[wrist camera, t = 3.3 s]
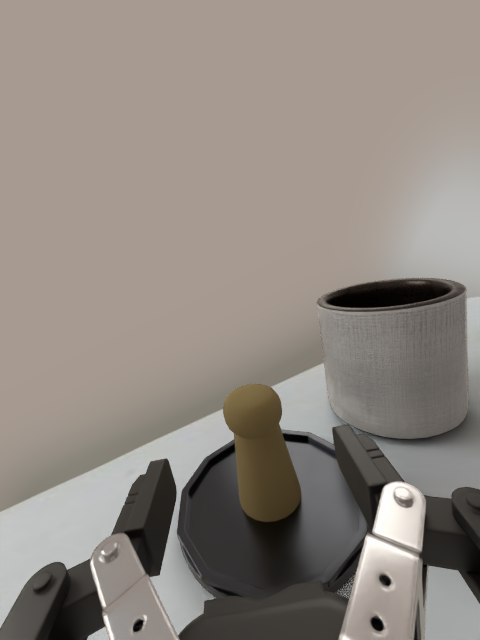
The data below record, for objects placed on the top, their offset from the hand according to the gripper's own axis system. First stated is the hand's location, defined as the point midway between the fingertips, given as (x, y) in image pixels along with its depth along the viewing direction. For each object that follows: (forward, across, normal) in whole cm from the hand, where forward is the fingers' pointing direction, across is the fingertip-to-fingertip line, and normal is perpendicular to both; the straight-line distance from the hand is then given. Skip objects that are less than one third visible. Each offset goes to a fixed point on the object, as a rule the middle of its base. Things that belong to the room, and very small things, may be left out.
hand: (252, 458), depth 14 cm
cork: (+11, 0, +14) cm, 18 cm away
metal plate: (+11, 0, +14) cm, 18 cm away
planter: (+22, -18, +14) cm, 32 cm away
